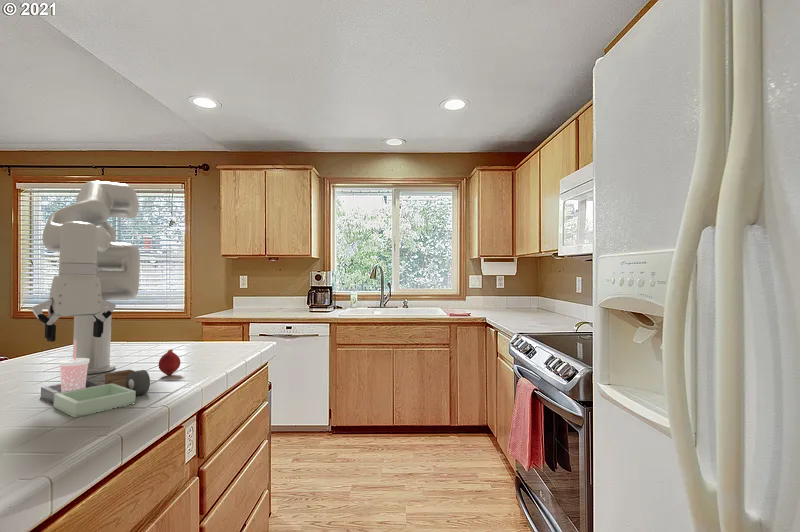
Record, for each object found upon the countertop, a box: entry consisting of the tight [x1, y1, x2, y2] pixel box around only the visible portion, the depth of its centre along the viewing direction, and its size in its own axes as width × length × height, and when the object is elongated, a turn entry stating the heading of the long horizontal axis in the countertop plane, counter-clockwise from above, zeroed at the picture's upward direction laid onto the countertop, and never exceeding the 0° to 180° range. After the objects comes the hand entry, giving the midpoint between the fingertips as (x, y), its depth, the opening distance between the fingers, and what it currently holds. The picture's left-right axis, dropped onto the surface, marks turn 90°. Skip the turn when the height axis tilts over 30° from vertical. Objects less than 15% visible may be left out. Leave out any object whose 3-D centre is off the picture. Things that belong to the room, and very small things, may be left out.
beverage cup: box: [58, 340, 90, 392], centre depth 104 cm, size 6×6×14 cm
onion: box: [158, 348, 181, 376], centre depth 126 cm, size 6×6×8 cm
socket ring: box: [40, 378, 105, 404], centre depth 104 cm, size 10×10×2 cm
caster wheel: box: [126, 369, 151, 396], centre depth 106 cm, size 6×3×6 cm, turn 57°
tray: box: [53, 383, 137, 418], centre depth 97 cm, size 12×12×3 cm
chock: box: [104, 368, 135, 388], centre depth 111 cm, size 5×6×4 cm
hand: (74, 339), depth 104 cm, fingers open, 9 cm apart
